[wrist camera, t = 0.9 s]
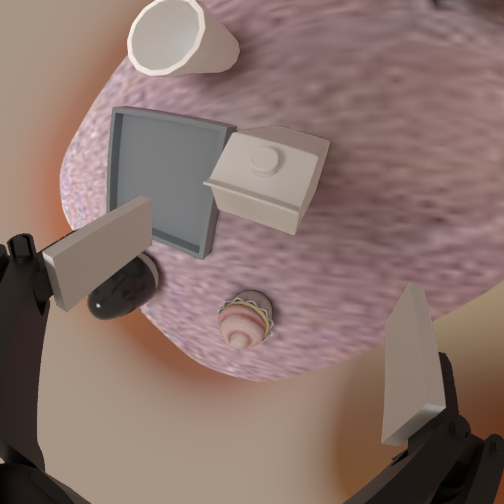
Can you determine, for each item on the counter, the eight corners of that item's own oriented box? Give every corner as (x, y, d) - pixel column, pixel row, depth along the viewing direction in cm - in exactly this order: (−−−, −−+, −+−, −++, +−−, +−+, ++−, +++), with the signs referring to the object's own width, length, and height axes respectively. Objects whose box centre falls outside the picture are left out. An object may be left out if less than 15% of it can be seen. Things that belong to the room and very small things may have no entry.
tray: (125, 106, 40) (112, 107, 37) (236, 125, 36) (227, 127, 34) (117, 214, 50) (106, 219, 48) (211, 251, 47) (202, 259, 44)
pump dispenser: (156, 240, 50) (98, 285, 37) (173, 291, 54) (125, 342, 41) (118, 243, 53) (63, 282, 40) (135, 289, 57) (88, 332, 45)
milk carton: (315, 191, 37) (283, 257, 21) (264, 175, 38) (196, 225, 22) (331, 140, 34) (312, 163, 18) (277, 124, 35) (211, 135, 19)
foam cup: (185, 83, 36) (123, 79, 25) (190, 25, 31) (132, 4, 20) (248, 83, 33) (200, 72, 22) (254, 21, 29) (210, -12, 18)
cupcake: (254, 271, 46) (230, 308, 37) (292, 312, 47) (276, 355, 39) (217, 296, 51) (190, 332, 42) (252, 333, 52) (232, 372, 43)
